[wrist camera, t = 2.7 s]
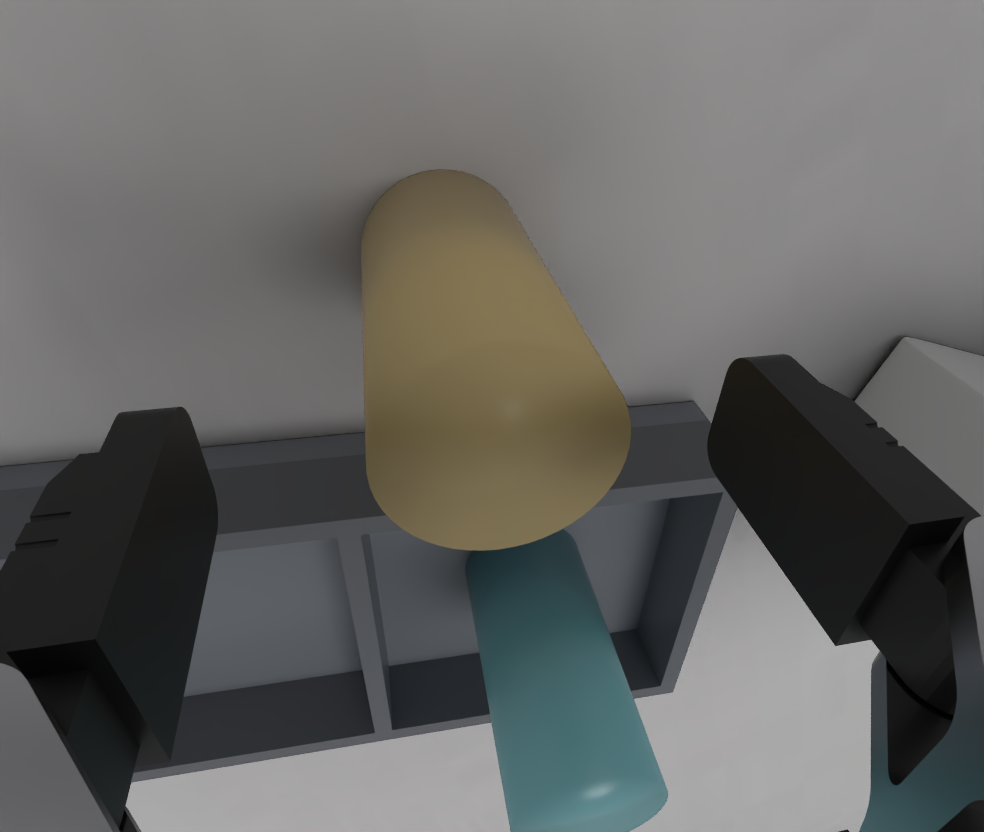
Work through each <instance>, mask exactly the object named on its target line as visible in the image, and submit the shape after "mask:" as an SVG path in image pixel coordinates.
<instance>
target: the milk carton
mask: <svg viewBox="0 0 984 832" xmlns="http://www.w3.org/2000/svg"><path fill="white" fill-rule="evenodd" d="M854 402H855V403H856V404H857V405H858V406H860V407H861V408H862V409H863V410H864V411H865V412H866V413H867V414H869V415H870V416H871V417H872V418H873V419H874V420H875V421H876V422H877V426H878V427H883V428H884V429H885V430H886V431H888V432H889V433H890V434H891V435H892V436H893V437H894V438H895V439H896V440H898V445H899V446H904V447H905V448H907V449H908V450H909V451H910V452H911V453H912V454H913V455H914V456H915V457H917V458H918V459H919V460H920V461H921V462H922V463H923V464H924V465H925V466H927V467H928V468H929V469H930V470H931V471H932V472H933V473H934V474H936V475H937V476H938V477H939V478H940V479H941V480H942V481H943V482H944V483H946V484H947V485H948V486H949V487H950V488H951V489H952V490H953V491H955V492H956V493H957V494H958V495H959V496H960V497H961V498H962V499H963V500H965V501H966V502H967V503H968V504H969V505H970V506H971V507H972V508H974V509H975V510H976V511H977V512H978V513H979V514H980V515H981V516H984V356H981V355H977V354H973V353H969V352H965V351H962V350H958V349H954V348H950V347H946V346H942V345H939V344H935V343H931V342H927V341H923V340H919V339H915V338H910V337H904V338H903V339H902V340H901V341H900V342H899V344H898V345H897V346H896V347H895V349H894V350H893V351H892V353H891V354H890V355H889V357H888V358H887V359H886V360H885V362H884V363H883V364H882V366H881V367H880V368H879V370H878V371H877V372H876V374H875V375H874V376H873V378H872V379H871V380H870V381H869V383H868V384H867V385H866V387H865V388H864V389H863V391H862V392H861V393H860V395H859V396H858V397H857V399H856V400H855V401H854Z"/></svg>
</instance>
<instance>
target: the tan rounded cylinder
mask: <svg viewBox="0 0 984 832" xmlns="http://www.w3.org/2000/svg"><path fill="white" fill-rule="evenodd" d="M361 269H362V314H363V358H364V403H365V448H366V473H367V478H368V482H369V486H370V489H371V491H372V493H373V496H374V498H375V500H376V501H377V503H378V504H379V506H380V508H381V509H382V510H383V512H384V513H385V514H386V515H387V516H388V517H389V518H390V519H391V520H392V521H393V522H394V523H395V524H397V525H398V526H399V527H400V528H402V529H403V530H405V531H406V532H408V533H410V534H411V535H413V536H415V537H417V538H419V539H422V540H424V541H426V542H429V543H432V544H435V545H438V546H443V547H447V548H452V549H460V550H476V551H485V550H497V549H504V548H510V547H516V546H519V545H523V544H527V543H530V542H533V541H536V540H539V539H542V538H544V537H547V536H549V535H551V534H553V533H555V532H558V531H559V530H561V529H563V528H565V527H566V526H568V525H570V524H572V523H573V522H575V521H576V520H577V519H579V518H580V517H582V516H583V515H584V514H586V513H587V512H588V511H589V510H590V509H591V508H593V507H594V506H595V505H596V504H597V503H598V502H599V501H600V500H601V499H602V498H603V497H604V496H605V494H606V493H607V492H608V490H609V489H610V488H611V486H612V485H613V484H614V482H615V481H616V479H617V477H618V475H619V474H620V472H621V470H622V468H623V465H624V463H625V461H626V458H627V454H628V450H629V447H630V439H631V421H630V416H629V411H628V407H627V404H626V402H625V400H624V397H623V395H622V393H621V391H620V390H619V388H618V386H617V385H616V383H615V381H614V380H613V378H612V376H611V375H610V373H609V371H608V370H607V368H606V366H605V365H604V363H603V361H602V360H601V358H600V356H599V355H598V353H597V351H596V350H595V348H594V346H593V345H592V343H591V341H590V339H589V338H588V336H587V334H586V333H585V331H584V329H583V328H582V326H581V324H580V323H579V321H578V319H577V318H576V316H575V314H574V313H573V311H572V309H571V308H570V306H569V304H568V303H567V301H566V299H565V298H564V296H563V294H562V293H561V291H560V289H559V288H558V286H557V284H556V283H555V281H554V279H553V278H552V276H551V274H550V273H549V271H548V269H547V267H546V266H545V264H544V262H543V261H542V259H541V257H540V256H539V254H538V252H537V251H536V249H535V247H534V246H533V244H532V242H531V241H530V239H529V237H528V236H527V234H526V232H525V231H524V229H523V227H522V226H521V224H520V222H519V221H518V219H517V217H516V216H515V214H514V212H513V211H512V209H511V207H510V206H509V204H508V203H507V201H506V200H505V199H504V198H503V196H502V195H501V194H500V193H499V192H498V191H497V190H496V189H495V188H493V187H492V186H491V185H489V184H488V183H486V182H485V181H483V180H482V179H480V178H477V177H475V176H473V175H470V174H467V173H464V172H460V171H454V170H431V171H426V172H422V173H417V174H415V175H412V176H410V177H407V178H405V179H404V180H402V181H400V182H398V183H397V184H395V185H394V186H393V187H391V188H390V189H389V190H388V191H387V192H386V193H385V194H384V195H383V196H382V197H381V198H380V199H379V200H378V201H377V203H376V204H375V205H374V207H373V208H372V210H371V212H370V214H369V216H368V218H367V221H366V223H365V226H364V230H363V234H362V241H361Z"/></svg>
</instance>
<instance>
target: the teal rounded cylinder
mask: <svg viewBox="0 0 984 832" xmlns="http://www.w3.org/2000/svg"><path fill="white" fill-rule="evenodd" d="M465 573H466V580H467V585H468V591H469V597H470V602H471V608H472V614H473V619H474V625H475V631H476V637H477V642H478V648H479V654H480V659H481V665H482V671H483V677H484V682H485V688H486V694H487V699H488V705H489V711H490V717H491V722H492V728H493V734H494V739H495V745H496V751H497V757H498V762H499V768H500V774H501V779H502V785H503V791H504V796H505V802H506V808H507V814H508V819H509V825H510V831H511V832H629V831H631V830H633V829H635V828H637V827H638V826H640V825H642V824H643V823H645V822H646V821H648V820H649V819H651V818H652V817H653V816H654V815H656V814H657V813H658V812H659V811H660V810H661V809H662V807H663V806H664V805H665V803H666V801H667V798H668V791H667V788H666V785H665V783H664V780H663V777H662V774H661V772H660V769H659V766H658V764H657V761H656V758H655V755H654V753H653V750H652V747H651V745H650V742H649V739H648V737H647V734H646V731H645V728H644V726H643V723H642V720H641V718H640V715H639V712H638V709H637V707H636V704H635V701H634V699H633V696H632V693H631V690H630V688H629V685H628V682H627V680H626V677H625V674H624V672H623V669H622V666H621V663H620V661H619V658H618V655H617V653H616V650H615V647H614V644H613V642H612V639H611V636H610V634H609V631H608V628H607V625H606V623H605V620H604V617H603V615H602V612H601V609H600V606H599V604H598V601H597V598H596V596H595V593H594V590H593V588H592V585H591V582H590V579H589V577H588V574H587V571H586V569H585V566H584V563H583V560H582V558H581V555H580V552H579V550H578V547H577V544H576V542H575V540H574V538H573V537H572V536H571V535H570V534H569V533H568V532H566V531H565V530H563V529H561V530H559V531H558V532H555V533H553V534H551V535H549V536H547V537H544V538H542V539H539V540H536V541H533V542H530V543H527V544H523V545H519V546H516V547H510V548H504V549H497V550H485V551H476V550H473V551H472V552H471V554H470V555H469V557H468V560H467V563H466V568H465Z"/></svg>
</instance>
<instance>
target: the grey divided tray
mask: <svg viewBox="0 0 984 832" xmlns="http://www.w3.org/2000/svg"><path fill="white" fill-rule="evenodd" d="M628 411H629V416H630V421H631V439H630V447H629V450H628V454H627V458H626V461H625V463H624V465H623V468H622V470H621V472H620V474H619V475H618V477H617V479H616V481H615V482H614V484H613V485H612V486H611V488H610V489H609V490H608V492H607V493H606V494H605V496H604V497H603V498H602V499H601V500H600V501H599V502H598V503H597V504H596V505H595V506H594V507H593V508H591V509H590V510H589V511H588V512H587V513H586V514H584V515H583V516H582V517H580V518H579V519H577V520H576V521H575V522H573V523H572V524H570V525H568V526H566V527H565V528H563V530H565V531H566V532H568V533H569V534H570V535H571V536H572V537H573V538H574V540H575V542H576V544H577V547H578V550H579V552H580V555H581V558H582V560H583V563H584V566H585V569H586V571H587V574H588V577H589V579H590V582H591V585H592V588H593V590H594V593H595V596H596V598H597V601H598V604H599V606H600V609H601V612H602V615H603V617H604V620H605V623H606V625H607V628H608V631H609V634H610V636H611V639H612V642H613V644H614V647H615V650H616V653H617V655H618V658H619V661H620V663H621V666H622V669H623V672H624V674H625V677H626V680H627V682H628V685H629V688H630V690H631V693H632V696H633V699H635V698H641V697H647V696H653V695H659V694H665V693H671V692H673V690H674V687H675V684H676V682H677V679H678V676H679V673H680V670H681V667H682V664H683V661H684V659H685V656H686V653H687V650H688V647H689V644H690V641H691V638H692V636H693V633H694V630H695V627H696V624H697V621H698V618H699V615H700V613H701V610H702V607H703V604H704V601H705V598H706V595H707V592H708V590H709V587H710V584H711V581H712V578H713V575H714V572H715V569H716V567H717V564H718V561H719V558H720V555H721V552H722V549H723V546H724V544H725V541H726V538H727V535H728V532H729V529H730V526H731V523H732V521H733V518H734V515H735V512H736V509H737V505H736V504H735V502H734V501H733V500H732V498H731V497H730V495H729V494H728V492H727V491H726V490H725V488H724V487H723V485H722V484H721V483H720V481H719V480H718V478H717V477H716V475H715V474H714V472H713V470H712V468H711V465H710V462H709V458H708V452H707V440H708V435H709V431H710V428H711V423H710V421H709V420H708V419H707V417H706V416H705V415H704V413H703V412H702V411H701V409H700V408H699V407H698V405H697V404H696V403H695V401H692V402H681V403H671V404H660V405H649V406H639V407H628ZM201 451H202V454H203V457H204V460H205V463H206V466H207V469H208V472H209V475H210V478H211V481H212V483H213V486H214V490H215V494H216V499H217V506H218V531H217V536H216V541H215V546H214V551H213V556H212V561H211V566H210V571H209V575H208V580H207V585H206V590H205V595H204V600H203V605H202V610H201V614H200V619H199V624H198V629H197V634H196V639H195V644H194V648H193V653H192V658H191V663H190V668H189V673H188V678H187V683H186V687H185V692H184V697H183V702H182V707H181V712H180V717H179V721H178V726H177V731H176V736H175V741H174V746H173V751H172V756H171V760H170V761H168V762H162V763H156V764H151V765H145V766H139V767H135V768H134V772H133V776H132V781H131V782H137V781H143V780H149V779H155V778H161V777H167V776H173V775H179V774H185V773H191V772H197V771H203V770H209V769H215V768H221V767H227V766H233V765H239V764H245V763H251V762H257V761H263V760H269V759H275V758H281V757H287V756H293V755H299V754H305V753H311V752H317V751H323V750H329V749H335V748H341V747H347V746H353V745H359V744H365V743H371V742H377V741H383V740H389V739H395V738H401V737H407V736H413V735H419V734H425V733H431V732H437V731H443V730H449V729H455V728H461V727H467V726H473V725H479V724H485V723H491V717H490V711H489V705H488V699H487V694H486V688H485V682H484V677H483V671H482V665H481V659H480V654H479V648H478V642H477V637H476V631H475V625H474V619H473V614H472V608H471V602H470V597H469V591H468V585H467V580H466V573H465V568H466V563H467V560H468V557H469V555H470V554H471V552H472V551H473V550H460V549H452V548H447V547H443V546H438V545H435V544H432V543H429V542H426V541H424V540H422V539H419V538H417V537H415V536H413V535H411V534H410V533H408V532H406V531H405V530H403V529H402V528H400V527H399V526H398V525H397V524H395V523H394V522H393V521H392V520H391V519H390V518H389V517H388V516H387V515H386V514H385V513H384V512H383V510H382V509H381V508H380V506H379V504H378V503H377V501H376V500H375V498H374V496H373V493H372V491H371V489H370V486H369V482H368V478H367V473H366V448H365V432H364V433H353V434H343V435H332V436H322V437H311V438H301V439H290V440H280V441H269V442H258V443H248V444H237V445H227V446H216V447H206V448H201ZM72 461H73V460H68V461H58V462H47V463H36V464H26V465H15V466H5V467H0V570H1V569H2V567H3V565H4V563H5V561H6V559H7V557H8V556H9V554H10V552H11V551H15V549H16V547H15V543H16V541H17V539H18V537H19V535H20V533H21V531H22V530H23V528H24V526H25V524H26V523H30V515H31V513H32V511H33V509H34V507H35V505H36V503H37V502H38V500H39V498H40V496H41V494H42V492H43V490H44V489H45V487H46V485H47V483H48V482H49V481H51V480H52V479H53V478H54V477H55V476H56V475H57V474H58V473H59V472H61V471H62V470H63V469H64V468H65V467H66V466H67V465H68V464H69V463H71V462H72Z"/></svg>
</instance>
